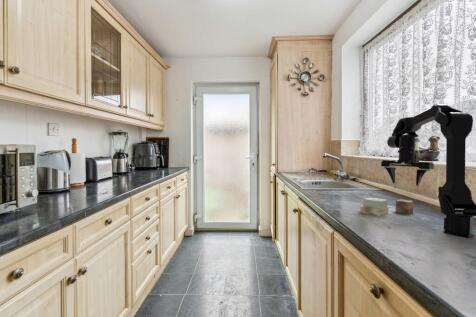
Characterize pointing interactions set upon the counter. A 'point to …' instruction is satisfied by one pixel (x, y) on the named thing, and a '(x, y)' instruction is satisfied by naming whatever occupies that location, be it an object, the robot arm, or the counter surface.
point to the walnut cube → (404, 206)
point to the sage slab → (375, 203)
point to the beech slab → (374, 210)
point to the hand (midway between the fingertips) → (405, 184)
